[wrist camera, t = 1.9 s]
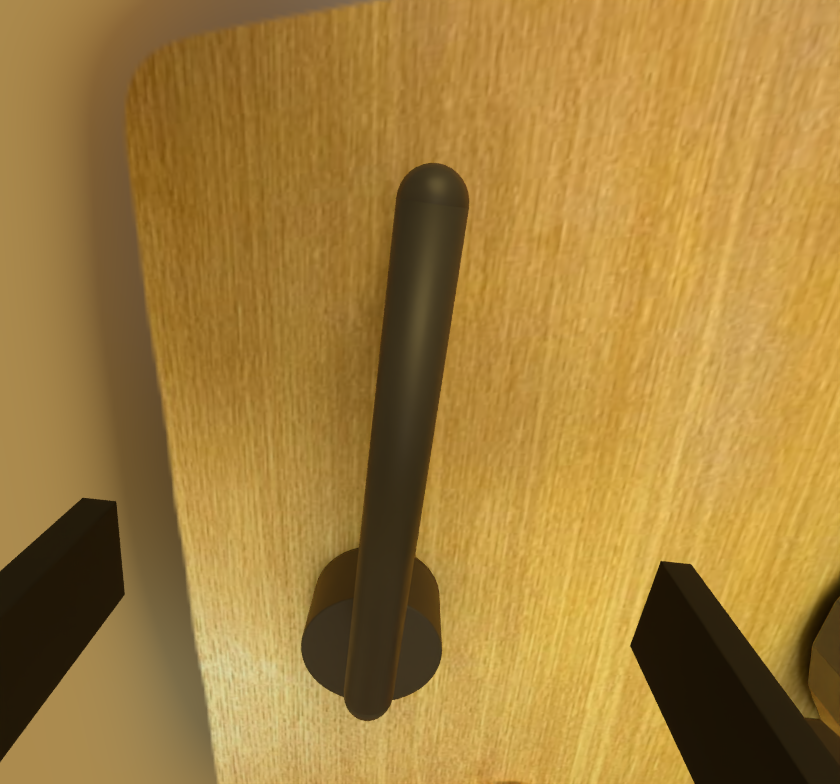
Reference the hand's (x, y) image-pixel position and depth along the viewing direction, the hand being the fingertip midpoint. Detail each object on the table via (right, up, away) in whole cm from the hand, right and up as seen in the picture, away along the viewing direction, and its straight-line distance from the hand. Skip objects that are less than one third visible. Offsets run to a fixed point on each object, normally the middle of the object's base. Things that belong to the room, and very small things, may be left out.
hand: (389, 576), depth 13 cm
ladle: (0, +2, +11) cm, 11 cm away
